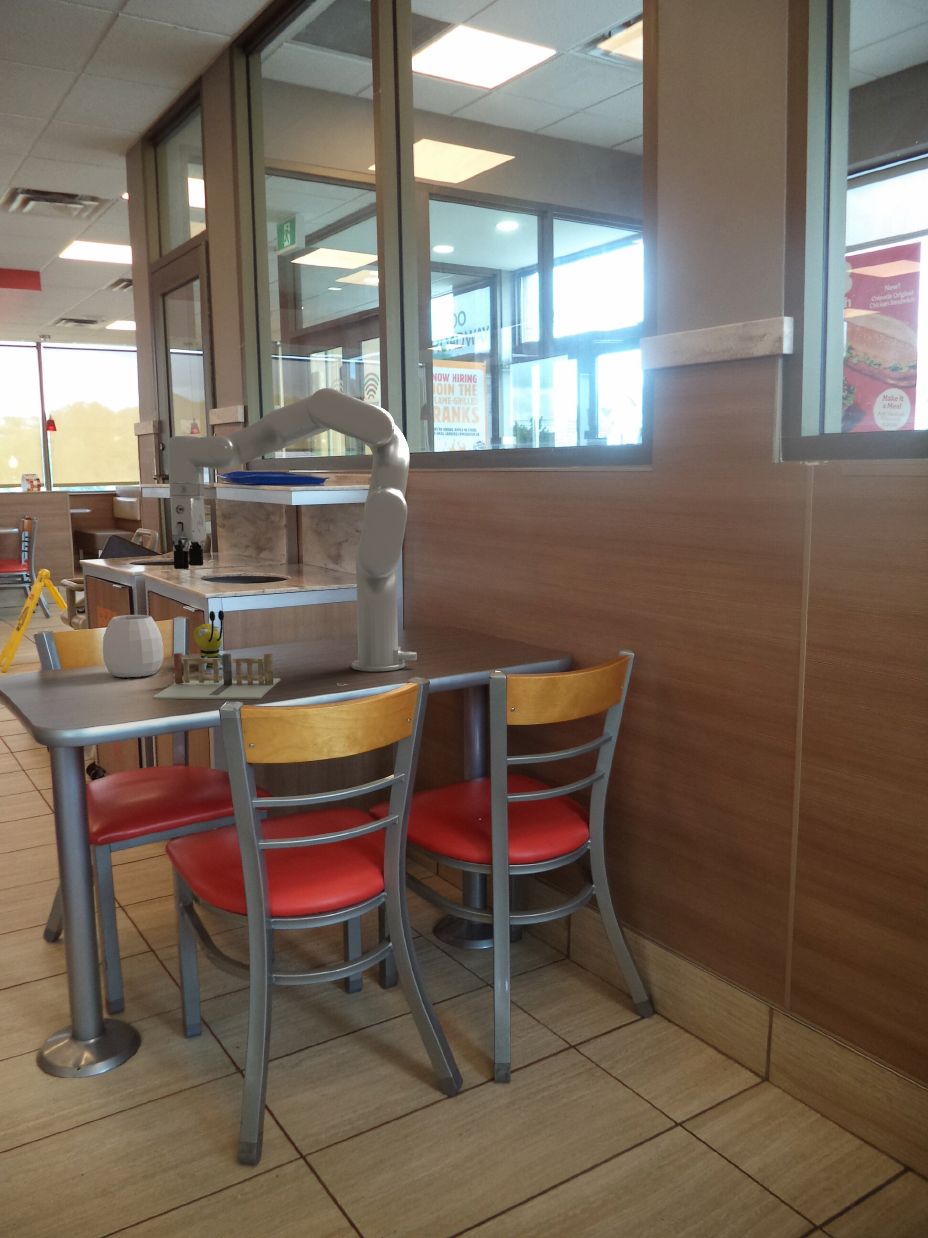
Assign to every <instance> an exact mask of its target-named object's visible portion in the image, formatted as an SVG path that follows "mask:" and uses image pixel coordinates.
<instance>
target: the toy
mask: <svg viewBox="0 0 928 1238" xmlns="http://www.w3.org/2000/svg"><path fill="white" fill-rule="evenodd" d="M217 616H218V617H217V619H219V622H220V628H219V627H218V626H215V625H214V624H215V623H214V622H215V620H216V613H215V612H214V611H213V610H210V611H209V614H208V617H209V621H210V622H211V623H204V624H201V625H199V626H197V627H196V628H195V629H194V631H193V638H194V641H195V643H196V645H197V646H199V647H200V651H199V654H200V658H222V663H219V664H220V665H221V666H222V667H223V655H222V654H221V652H220V648H221V645H222V643H223V639H222V635H223V630H224V629H223V627H224V622H223V620H224V619H225V614H224V611H223V610H219V611H218V612H217ZM207 666H208V667H213V663H204V672H206V670H207Z"/></svg>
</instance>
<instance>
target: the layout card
mask: <svg viewBox="0 0 928 1238" xmlns="http://www.w3.org/2000/svg"><path fill="white" fill-rule="evenodd" d="M280 681H281V678H278V677H277V678H274V677H273V685H265V681H264V684H263V685H259V681H253V684H252V685H248V681H242V684H241V685H237V681H233V677H232V685H224V680H223V677H222V680H221V681H219V683H214V681H204V683H199V681H190V682H189V683H181V684H176V683H175V682H174V683H173V684H172V685H169V686H168V687H166V688H165V689H163V690H161V691H160V692H157V694H155V695H154V696H152V699H153V700H154V699H155V700H156V699H159V700H160V699H164V700H166V699H169V700H170V699H171V700H173V699H174V700H176V699H179V700H180V699H181V700H182V699H183V700H185V699H186V700H187V699H188V700H189V699H190V700H193V699H196V700H200V699H201V700H218V699H219V700H220V699H221V700H224V699H225V700H226V699H227V700H243V699H244V700H260V699H262V698H263V697H264V696H265V695H266V694H267V693H268V692H269V691H271V690H272V689H273V688H274V687H275V686H276V685H277V684H278V683H280Z"/></svg>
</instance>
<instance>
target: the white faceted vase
mask: <svg viewBox="0 0 928 1238" xmlns="http://www.w3.org/2000/svg"><path fill="white" fill-rule="evenodd" d="M162 636H163V635H162V633H161V632H160V629H159V626H158V625H157V623H156V622H155V620H154V618H153V617H152V616H151V615H147V614H127V615H118V616H114V617H111V619H110V620H109V622H108V625H107V626H106V628H105V631H104V634H103V639H102V657H103V658H102V659H103V662H104V664H105V667H106V669H107V670H108V672H109V673H111V675H113V676H115V677H118V678H125V677H136V678H142V677H141V676H143V677H147V676H150V675H154V674H155V673H157V672H158V671H159V670H160V668H161V666H162V664H163V661H164V658H165V657H164V644H163V638H162Z"/></svg>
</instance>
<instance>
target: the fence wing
mask: <svg viewBox="0 0 928 1238" xmlns="http://www.w3.org/2000/svg"><path fill="white" fill-rule="evenodd" d="M173 663H174V665H173V666H174V667H173V668H174V683H176V684H181V683H189V682H190V681H199V683H204V681H214V683H219V681H221V680H222V678H223V674H219V673H220V671H219V667H220V666H219V664H220V663H222V658H201V657H184V656H183V653H181V652H178V653H177V652H176V653H173ZM204 663H213V666H212V668H213V669H212V670H213V671H212V673H213V674H210V675H209V674H207V675H205V671H204ZM190 664H198V667H197V668H198V674H195V675H193V674H190Z"/></svg>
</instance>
